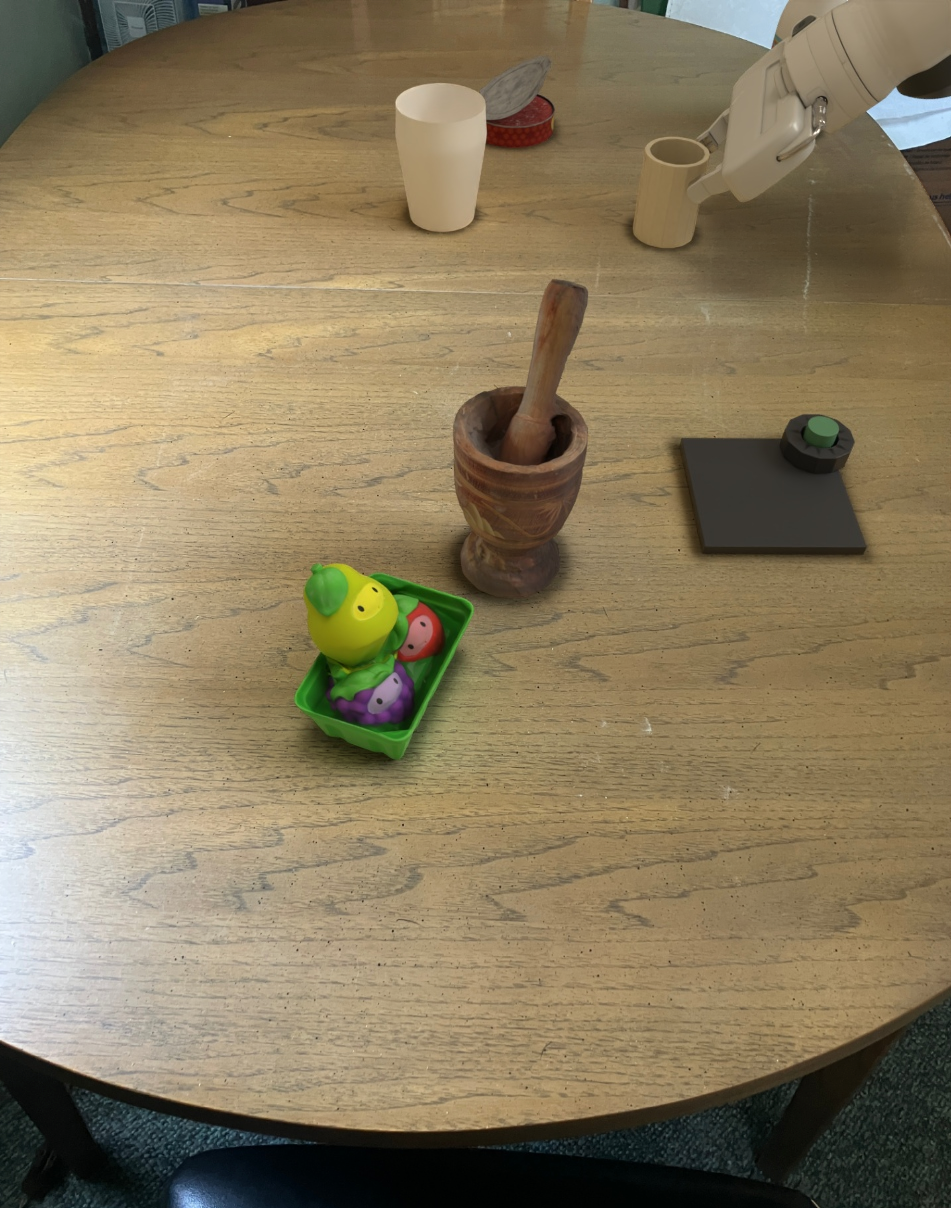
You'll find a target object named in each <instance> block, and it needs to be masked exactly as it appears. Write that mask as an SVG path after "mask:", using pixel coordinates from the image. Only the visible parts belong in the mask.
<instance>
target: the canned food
mask: <svg viewBox="0 0 951 1208" xmlns="http://www.w3.org/2000/svg"><path fill="white" fill-rule="evenodd" d="M551 67H552V61H551V59H550V58H549V56H548V55H537V56H535V57H532V58H530V59H526V60H523V61H521V62H520V63H518V64H517V65H514V66H512V67H509V68H507V69H506V70H505V71H503V72H502V73H500V74H498V75H497V76H495V77H493V78H492V79H491V80H490V81H489V82H488V83H487V84H485V85H484V86H483V87H482V88H480V90H479V91H478V93H479V94H481V95H482V96H483V98H484V99H485V105H486V129H487V136H486V144H489V145H492V146H496V147H500V148H510V149H511V148H512V149H513V148H515V149H518V148H527V147H533V146H536V145H540V144H542V143H544V142H546V141H547V140H549V138H550V137H551V136H552V135H553V133H554V132H553V131H554V125H555V113H556V108H555V105H554V103H553V101H551V100H550V99H549V98H548V97H546V96H544V95H542V94H540V93H539V92H540V91H541V89H542V88H543V86H544V83H545V79H546V77H547V76H548V73H549V71H550V70H551Z"/></svg>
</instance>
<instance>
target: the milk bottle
mask: <svg viewBox="0 0 951 1208" xmlns="http://www.w3.org/2000/svg"><path fill="white" fill-rule="evenodd" d="M847 1H848V0H788V1H787V3H786V4H785V6H784V8H783V9H782V12H781V14H780V16H779V20H778V22H777V24H776V25H777V26H776V29H775V32H774V37H773V40H772V43H771V48H770V50H771V49H772V48H773V47H775V46H776V45H777V44H778V43H780V42H781V41H782V40H784V39H785V38H787V37H789V36H791V31H792V27H793V26H794V25H795V24H796V23H797V22H798V21H799V20H801V19H802V18H803V17H805V16H806V15H807V14H810V13H814V14H816V15H818V16H820V17H821V16H824V15H825V14H827V13H828V12H829V11H831V10H832V9H833V8H835V7H837V6H839V5H841V4H843V3H845V2H847Z"/></svg>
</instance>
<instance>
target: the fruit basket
mask: <svg viewBox="0 0 951 1208" xmlns="http://www.w3.org/2000/svg"><path fill="white" fill-rule="evenodd" d="M310 571H311V573H312V574H311V575H309V577H308V578H307V580H306V581H305V584H304V586H303V589H302V591H303V592H302V593H303V595H302V596H303V601H304V605H305V607H306V611H307V612H306V619H307V620H306V623H307V629H308V633H309V637H310V638H311V640H312V642H313V643H314V645H315V646H316V648H317V649H318V650H319V651H320V652H319V653H318V655H317V657H316V658H315V660H314V661H313V663H312V664H311V666H310V667H309V669H308V671H307V673H306V674H305V676H304V678H303V680H302V681H301V683H300V684H299V686H298V688H297V690H296V691H295V693H294V697H293V702H294V703H295V705H296V706H297V708H298V709H299V710H300V711H302V713H303V714H304V715H306V716H308V717H310V718H311V720H312V721H313V722H314V723H315V724H316V725H317V726H318V727H319V729H320V730H321V731H322V732H323V733H324V734H325V735H327V736H329V737H330V738H341V739H343V740H344V741H345V742H346V743H349V744H351V745H353V746H357V747H359V748H362V749H365V750H367V751H370V752H374V753H382V754H384V755H386V756H387V757H388V758H390V759H393V760H400V759H402V758H403V756H404V754H405V752H406V751H407V748H408V746H409V745H410V743H411V739H412V736H413V734H414V731H416V729H417V728H418V726H419V725H420V723H421V720H422V718H423V716H424V714H425V713H426V710H427V707H428V705H429V701H430V700H431V699H432V698H433V697H434V694H435V692H436V691H437V689H438V687H439V685H440V683H441V680H442V678H443V676H444V674H445V672H446V671H447V670H446V669H448V667H449V666H450V664H451V661H452V660H453V658H454V656H455V653H456V650H457V648H458V646H459V644H460V642H461V640H462V638H463V636H464V634H465V632H466V631H467V628H468V626H469V624H470V623H471V620H472V618H473V615H474V612H475V607H474V605H473V604H472V602H471V601H469V600H468V599H466V598H464V597H461V596H458V595H454V594H451V593H448V592H445V591H440V590H438V589H435V588H431V587H428V586H425V585H423V584H419V583H415V582H412V581H409V580H407V579H404V578H400V577H398V576H394V575H391V574H388V573H384V572H374V573H371V574H369V575H368V576H367V575H364V574H361V573H360V572H359V571H357V570H356V569H354V567H351V566H350V565H348V564H345V563H339V562H338V563H329V564H326V565H322V564H321V563H318V562H317V563H314V564H313V565H312V566H311V567H310Z"/></svg>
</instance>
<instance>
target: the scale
mask: <svg viewBox="0 0 951 1208" xmlns="http://www.w3.org/2000/svg"><path fill="white" fill-rule="evenodd" d="M817 416H822V417H827V418H830V419H832V420H833V421H835V422H836V423H837V424H838V426H839V431H838V434H837V436H836V439H835V441H834V444H833V445H832V446H831V447H829V448H817V447H814V446H811V445H809V444H808V443H807V442H806V441H804V438H803V435H804V432H805V429H806V426H807V424H808V421H809V420H810V419H811V418H813V417H817ZM855 444H856V441H855V437H854V435H853V433H852V430H851V429H850V428H849V427H847V426H846V425H845V424H844V423H843V422H841V421H840V420H838V419H836V418H833V417H830V416H827V415H825V414H822V413H821V414H819V413H803V414H800V415H798V416H795V417H793V418H790V420H789V421H788V422H787V424H786V426H785V428H784V430H783V433H782V436H781V438H772V437H771V438H770V437H769V438H760V437H759V438H756V437H755V438H754V437H751V438H750V437H749V438H748V437H747V438H746V437H743V438H742V437H741V438H740V437H681V439H680V443H679V448H680V454H681V457H682V463H683V469H684V473H685V476H686V481H687V487H688V490H689V497H690V501H691V505H692V509H693V514H694V520H695V524H696V529H697V533H698V538H699V542H700V548H701V553H702V554H703V555H864V554H865V552H866V550H867V548H868V545H867V543H866V541H865V538H864V536H863V531H862V530H861V526H860V525H859V522H858V519H857V516H856V512H855V511H854V508H853V505H852V502H851V500H850V497H849V494H848V491H847V488H846V485H845V483H844V480H843V477H842V475H841V471H840V470H841V469H843V468H844V467H845V466H846V464H847V462H848V460H849V458H850V456H851V454H852V451H853V448H854V446H855Z"/></svg>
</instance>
